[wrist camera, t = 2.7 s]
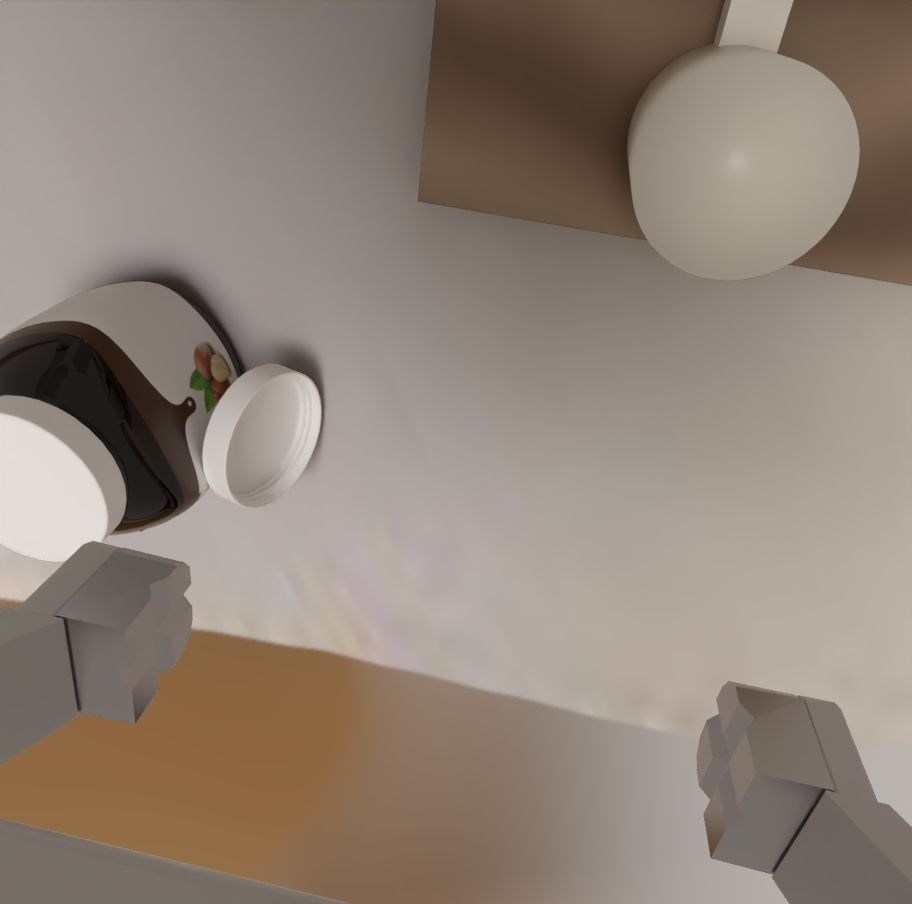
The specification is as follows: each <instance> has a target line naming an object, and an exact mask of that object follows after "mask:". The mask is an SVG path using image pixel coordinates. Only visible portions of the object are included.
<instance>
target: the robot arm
mask: <svg viewBox="0 0 912 904" xmlns="http://www.w3.org/2000/svg"><path fill="white" fill-rule="evenodd" d="M190 585H191V577H190V567H189V566H188V565H187V564H186V563H184V562H180V561H176V560H172V559H168V558H164V557H160V556H156V555H152V554H148V553H144V552H139V551H135V550H131V549H127V548H120V547H116V546H112V545H108V544H104V543H100V542H96V541H91V542H88V543H85V544H83V545H82V546H81V547H80V548H79V549H78V550H77V551H76V552H75V553H74V554H73V555H71V556H70V557H69V558H68V559H67V560H66V561H65V562H64V563H63V564H62V565H61V566H60V567H59V568H58V569H57V570H56V571H55V572H54V573H53V574H52V575H51V576H50V577H49V578H48V579H47V580H46V581H45V582H44V583H43V584H42V585H41V586H40V587H39V588H38V589H37V590H36V591H35V592H34V593H33V594H32V595H31V596H30V597H29V598H28V599H27V600H26V601H25V602H23V603H22V604H21V605H20V606H19V607H18V608H14V607H9V606H7V607H4V608H2V609H0V764H2V763H4V762H5V761H7V760H8V759H10V758H12V757H13V756H15V755H16V754H18V753H20V752H21V751H23V750H24V749H26V748H28V747H29V746H31V745H32V744H34V743H35V742H37V741H39V740H40V739H42V738H43V737H45V736H47V735H48V734H50V733H52V732H53V731H55V730H56V729H58V728H59V727H61V726H63V725H64V724H66V723H67V722H69V721H71V720H72V719H74V718H75V717H77V716H78V712H80V713H85V714H90V715H94V716H99V717H105V718H109V719H114V720H120V721H124V722H129V723H134V724H135V723H136V722H137V721H138V719H139V718H140V716H141V715H142V713H143V712H144V710H145V709H146V707H147V706H148V704H149V703H150V701H151V700H152V698H153V697H154V695H155V693H156V692H157V691H158V689H159V684H158V674H160V673H162V672H164V671H166V670H168V669H169V668H172V667H173V666H174V665H175V664H176V662H177V661H178V659H179V657H180V656H181V654H182V653H183V651H184V648H185V645H186V643H187V640H188V638H189V635H190V631H191V625H192V605H191V604H190V603H189V601H188V600H187V599H186V597H185V596H184V595H183V594H184V593H185V591H186V590H187V589H188V587H189V586H190ZM716 700H717V705H718V710H719V714H718V715H716V716H714V717H712V718H710V719H708V720H707V721H706V723H705V726H704V728H703V731H702V733H701V736H700V740H699V746H698V752H697V774H698V780H699V786H700V788H701V789H702V790H703V791H704V793H705V794H706V795H707V796H708V798H709V799H710V802H709V804H708V806H707V808H706V810H705V812H704V820H705V826H706V832H707V838H708V844H709V851H710V857H711V858H712V859H716V860H720V861H724V862H727V863H731V864H735V865H739V866H743V867H747V868H750V869H754V870H758V871H762V872H765V873H769V874H773V876H772V878H773V880H774V881H775V883H776V884H777V886H778V887H779V889H780V890H781V892H782V893H783V895H784V896H785V898H786V899H787V901H788V902H789V904H912V827H911V826H910V825H909V824H908V823H907V822H906V821H905V820H904V819H903V818H902V817H901V816H900V815H899V814H898V813H897V812H896V811H895V810H894V809H893V808H892V807H891V806H889V805H887V804H883V803H878V801H877V799H876V796H875V794H874V791H873V789H872V786H871V784H870V781H869V779H868V776H867V774H866V771H865V769H864V766H863V764H862V761H861V759H860V756H859V753H858V751H857V748H856V746H855V743H854V741H853V738H852V736H851V733H850V731H849V728H848V726H847V723H846V721H845V718H844V716H843V713H842V711H841V709H840V708H839V707H838V706H837V705H836V704H835V703H834V702H829V701H824V700H819V699H814V698H809V697H804V696H796V695H793V694H788V693H783V692H778V691H773V690H769V689H764V688H759V687H754V686H750V685H745V684H740V683H735V682H731V681H728V682H727V683H726V684H725V685H724V686H723V687H722V689H721V691H720V693H719V695H718V697H717V699H716ZM0 904H350V903H346V902H342V901H338V900H334V899H330V898H326V897H321V896H317V895H314V894H310V893H305V892H301V891H297V890H293V889H289V888H285V887H281V886H277V885H273V884H269V883H265V882H261V881H257V880H252V879H249V878H244V877H240V876H236V875H232V874H228V873H224V872H219V871H216V870H212V869H207V868H204V867H199V866H195V865H191V864H187V863H183V862H179V861H175V860H170V859H166V858H163V857H159V856H155V855H150V854H146V853H142V852H138V851H134V850H130V849H125V848H122V847H118V846H114V845H110V844H106V843H101V842H97V841H93V840H89V839H85V838H81V837H76V836H73V835H68V834H64V833H61V832H56V831H52V830H48V829H44V828H40V827H36V826H32V825H27V824H24V823H20V822H15V821H11V820H7V819H3V818H0Z"/></svg>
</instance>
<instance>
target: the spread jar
mask: <svg viewBox="0 0 912 904" xmlns="http://www.w3.org/2000/svg"><path fill="white" fill-rule="evenodd" d="M321 420H322V406H321V398H320V395H319V392H318V389H317V387H316V385H315V384H314V382H313V381H312V380H311V379H310V378H309V377H308V376H307V375H305V374H302V373H300V372H297V371H295V370H292V369H289V368H287V367H284V366H281V365H279V364H270V363H268V364H263V365H259V366H257V367H255V368H253V369H251V370H249V371H247V372H246V373H244V374H243V375H242V374H241V370H240V367H239V364H238V361H237V358H236V356H235V354H234V351H233V349H232V347H231V346H230V344H229V342H228V340H227V339H226V337H225V336H224V334H223V333H222V332H221V330H220V329H219V328H218V326H217V325H216V324H215V323H214V322H213V321H212V319H211V318H210V317H209V316H208V315H207V314H206V313H205V312H204V311H203V310H202V309H200V308H199V307H198V306H197V305H196V304H194V303H193V302H192V301H190V300H189V299H188V298H186V297H185V296H184V295H182V294H180V293H179V292H177V291H176V290H173V289H171V288H169V287H166V286H163V285H160V284H156V283H152V282H144V281H134V282H123V283H117V284H110V285H105V286H101V287H98V288H94V289H91V290H89V291H86V292H83V293H81V294H78V295H75V296H73V297H71V298H69V299H67V300H65V301H63V302H61V303H59V304H57V305H55V306H53V307H51V308H49V309H48V310H46V311H44V312H42V313H40V314H39V315H37V316H35V317H33V318H31V319H30V320H28V321H26V322H25V323H23V324H21V325H20V326H18V327H17V328H15V329H13V330H12V331H10V332H9V333H7V334H6V335H5V336H3V337H2V338H1V339H0V544H2V545H4V546H5V547H7V548H9V549H11V550H13V551H15V552H18V553H20V554H23V555H25V556H28V557H32V558H36V559H40V560H46V561H56V562H61V561H66V560H67V559H68V558H69V557H70V556H71V555H73V554H74V553H75V552H76V551H77V550H78V549H79V548H80V547H81V546H82V545H83V544H85V543H88V542H91V541H96V542H100V543H102V542H103V541H104V540H105V539H106V538H107V537H108V536H109V535H121V534H128V533H133V532H137V531H143V530H145V529H148V528H151V527H155V526H157V525H160V524H162V523H165V522H167V521H169V520H171V519H172V518H174V517H176V516H178V515H179V514H181V513H183V512H184V511H186V510H187V509H189V508H190V507H191V506H192V505H193V504H195V503H196V502H197V501H198V500H199V499H200V498H201V497H202V496H203V495H204V494H205V492H206V491H207V490H208V489H209V488H211V489H212V490H213V491H214V492H215V493H216V494H217V495H218V496H220V497H222V498H225V499H227V500H229V501H231V502H233V503H235V504H237V505H239V506H242V507H244V508H246V509H259V508H263V507H266V506H268V505H270V504H272V503H274V502H276V501H277V500H278V499H280V498H281V497H283V496H284V495H285V494H286V493H287V492H288V491H289V490H290V489H291V488H292V487H293V485H294V484H295V483H296V482H297V480H298V479H299V478H300V476H301V475H302V473H303V472H304V470H305V468H306V467H307V465H308V463H309V461H310V459H311V457H312V454H313V452H314V449H315V447H316V444H317V440H318V436H319V433H320V427H321Z"/></svg>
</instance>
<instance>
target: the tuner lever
mask: <svg viewBox="0 0 912 904" xmlns="http://www.w3.org/2000/svg"><path fill="white" fill-rule="evenodd" d="M792 4H793V0H725V2H724V6H723V10H722V13H721V17H720V21H719V25H718V28H717V32H716V36H715V39H714V43H713V44H710V45H706V46H703V47H700V48H697V49H694V50H692V51H690V52H688V53H686V54H684V55H682V56H680V57H679V58H677V59H676V60H674V61H673V62H671V63H670V64H669V65H668V66H666V67H665V68H664V69H663V70H662V71H661V72H660V73H659V74H658V75H657V76H656V77H655V78H654V79H653V80H652V81H651V83H650V84H649V85H648V87H647V88H646V89H645V91H644V92H643V94H642V96H641V98H640V99H639V101H638V103H637V106H636V108H635V110H634V113H633V115H632V119H631V122H630V126H629V132H628V138H627V155H628V165H629V174H630V183H631V192H632V201H633V206H634V210H635V215H636V217H637V220H638V223H639V225H640V228H641V230H642V231H643V233H644V235H645V237H646V239H647V240H648V241H649V243H650V244H651V245H652V247H653V248H654V249H655V250H656V251H657V252H658V253H659V254H660V255H661V256H662V257H663V258H664V259H665V260H667V261H668V262H669V263H671V264H672V265H673V266H675V267H677V268H679V269H681V270H682V271H684V272H687V273H689V274H692V275H695V276H698V277H702V278H706V279H712V280H721V281H730V280H743V279H750V278H754V277H758V276H762V275H765V274H768V273H770V272H773V271H776V270H778V269H780V268H782V267H784V266H786V265H788V264H790V263H792V262H793V261H795V260H796V259H798V258H799V257H801V256H802V255H804V254H805V253H806V252H807V251H809V250H810V249H811V248H812V247H814V246H815V245H816V244H817V243H818V242H819V241H820V240H821V239H822V238H823V237H824V236H825V235H826V234H827V232H828V231H829V230H830V229H831V227H832V226H833V225H834V223H835V222H836V221H837V219H838V218H839V216H840V214H841V213H842V211H843V209H844V208H845V206H846V204H847V201H848V199H849V197H850V195H851V192H852V189H853V186H854V183H855V180H856V176H857V171H858V166H859V152H860V147H859V134H858V130H857V125H856V121H855V118H854V115H853V113H852V110H851V108H850V105H849V104H848V102H847V100H846V99H845V97H844V95H843V94H842V92H841V91H840V90H839V89H838V88H837V87H836V85H835V84H834V83H833V82H832V81H831V80H830V79H828V78H827V77H826V76H825V75H824V74H822V73H821V72H820V71H818V70H816V69H815V68H813V67H811V66H809V65H807V64H805V63H802V62H800V61H797V60H795V59H792V58H789V57H786V56H783V55H780V54H777V51H778V48H779V45H780V42H781V38H782V35H783V32H784V29H785V26H786V23H787V19H788V16H789V13H790V10H791V7H792Z"/></svg>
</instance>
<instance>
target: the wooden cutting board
mask: <svg viewBox="0 0 912 904" xmlns="http://www.w3.org/2000/svg"><path fill="white" fill-rule="evenodd" d="M724 2H725V0H436V8H435V19H434V30H433V41H432V52H431V63H430V74H429V85H428V96H427V107H426V118H425V129H424V140H423V151H422V162H421V173H420V184H419V195H418V201H419V202H425V203H431V204H437V205H442V206H448V207H454V208H460V209H466V210H472V211H478V212H483V213H489V214H495V215H501V216H507V217H513V218H519V219H524V220H530V221H536V222H542V223H548V224H554V225H559V226H565V227H571V228H577V229H583V230H589V231H595V232H600V233H606V234H612V235H618V236H624V237H630V238H636V239H641V240H647V239H646V237H645V235H644V233H643V231H642V230H641V228H640V225H639V223H638V220H637V217H636V215H635V210H634V206H633V201H632V192H631V183H630V174H629V165H628V155H627V138H628V132H629V126H630V122H631V119H632V115H633V113H634V110H635V108H636V106H637V103H638V101H639V99H640V98H641V96H642V94H643V92H644V91H645V89H646V88H647V87H648V85H649V84H650V83H651V81H652V80H653V79H654V78H655V77H656V76H657V75H658V74H659V73H660V72H661V71H662V70H663V69H664V68H665V67H666V66H668V65H669V64H670V63H671V62H673V61H674V60H676V59H677V58H679V57H680V56H682V55H684V54H686V53H688V52H690V51H692V50H694V49H697V48H700V47H703V46H706V45H710V44H713V43H714V39H715V36H716V32H717V28H718V25H719V21H720V17H721V13H722V10H723V6H724ZM777 54H780V55H783V56H786V57H789V58H792V59H795V60H797V61H800V62H802V63H805V64H807V65H809V66H811V67H813V68H815V69H816V70H818V71H820V72H821V73H822V74H824V75H825V76H826V77H827V78H828V79H830V80H831V81H832V82H833V83H834V84H835V85H836V87H837V88H838V89H839V90H840V91H841V92H842V94H843V95H844V97H845V99H846V100H847V102H848V104H849V105H850V108H851V110H852V113H853V115H854V118H855V121H856V125H857V130H858V134H859V147H860V152H859V166H858V171H857V176H856V180H855V183H854V186H853V189H852V192H851V195H850V197H849V199H848V201H847V204H846V206H845V208H844V209H843V211H842V213H841V214H840V216H839V218H838V219H837V221H836V222H835V223H834V225H833V226H832V227H831V229H830V230H829V231H828V232H827V234H826V235H825V236H824V237H823V238H822V239H821V240H820V241H819V242H818V243H817V244H816V245H815V246H814V247H812V248H811V249H810V250H809V251H807V252H806V253H805V254H804V255H802V256H801V257H799V258H798V259H796V260H795V261H793V262H792V263H790V264H788V265H793V266H799V267H805V268H811V269H817V270H823V271H829V272H834V273H840V274H846V275H852V276H858V277H864V278H870V279H875V280H881V281H887V282H893V283H899V284H905V285H910V286H912V0H793V4H792V7H791V10H790V13H789V16H788V19H787V23H786V26H785V29H784V32H783V35H782V38H781V42H780V45H779V48H778V51H777ZM647 241H648V240H647Z"/></svg>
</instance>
